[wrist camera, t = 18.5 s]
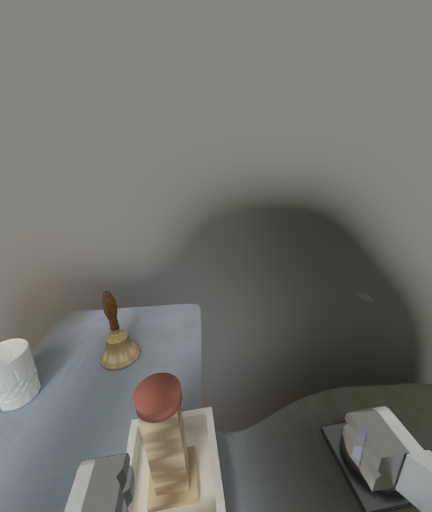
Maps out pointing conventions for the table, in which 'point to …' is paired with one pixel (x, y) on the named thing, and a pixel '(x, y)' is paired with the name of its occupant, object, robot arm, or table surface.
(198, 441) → the tray
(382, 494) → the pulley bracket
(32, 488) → the table surface
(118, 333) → the hand bell
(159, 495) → the beige red tall post
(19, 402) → the white cup
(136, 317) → the table surface
